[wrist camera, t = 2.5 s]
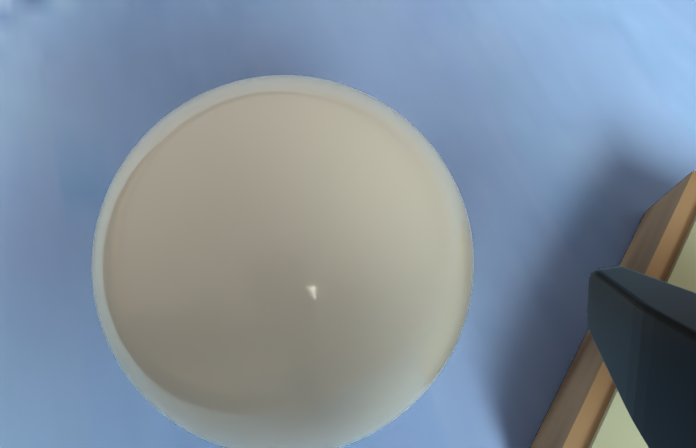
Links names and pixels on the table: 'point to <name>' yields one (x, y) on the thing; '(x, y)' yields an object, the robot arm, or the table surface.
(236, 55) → the table surface
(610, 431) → the pedestal
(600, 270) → the robot arm
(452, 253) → the lightbulb
